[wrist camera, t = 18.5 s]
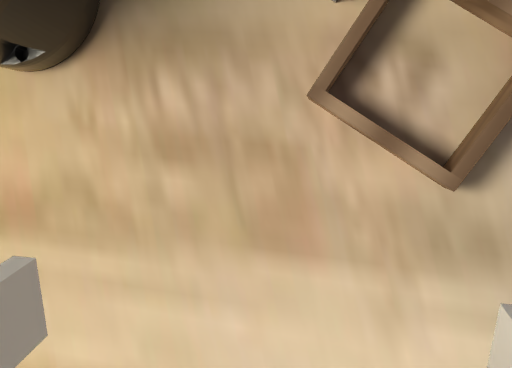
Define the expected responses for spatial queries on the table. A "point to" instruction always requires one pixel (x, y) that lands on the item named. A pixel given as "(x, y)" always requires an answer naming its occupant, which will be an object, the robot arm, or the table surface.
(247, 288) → the table surface
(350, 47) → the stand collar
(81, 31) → the robot arm
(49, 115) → the table surface
